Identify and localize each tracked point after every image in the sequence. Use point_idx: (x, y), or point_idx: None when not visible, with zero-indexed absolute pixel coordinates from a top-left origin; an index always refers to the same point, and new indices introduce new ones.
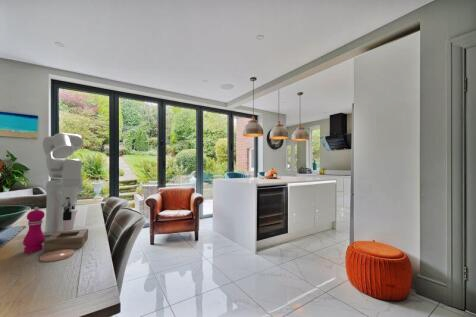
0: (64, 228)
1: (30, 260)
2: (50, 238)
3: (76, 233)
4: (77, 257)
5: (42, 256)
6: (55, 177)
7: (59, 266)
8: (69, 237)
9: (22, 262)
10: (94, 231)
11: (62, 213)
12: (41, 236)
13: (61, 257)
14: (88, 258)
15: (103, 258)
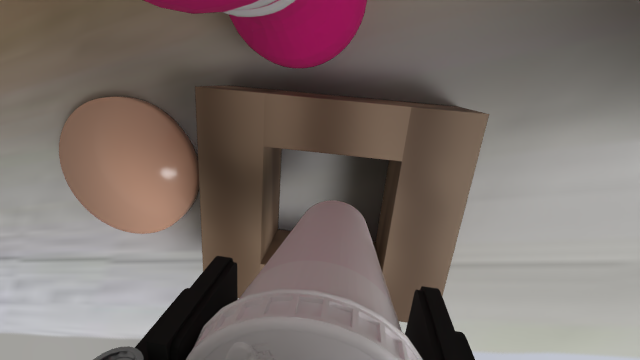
0: (303, 216)
1: (118, 51)
2: (260, 115)
3: (382, 253)
4: (93, 244)
5: (110, 106)
6: None
7: (8, 191)
8: (228, 230)
9: (99, 18)
10: (581, 315)
11: (254, 301)
12: (259, 48)
13: (74, 192)
14: (68, 280)
15: (53, 323)
